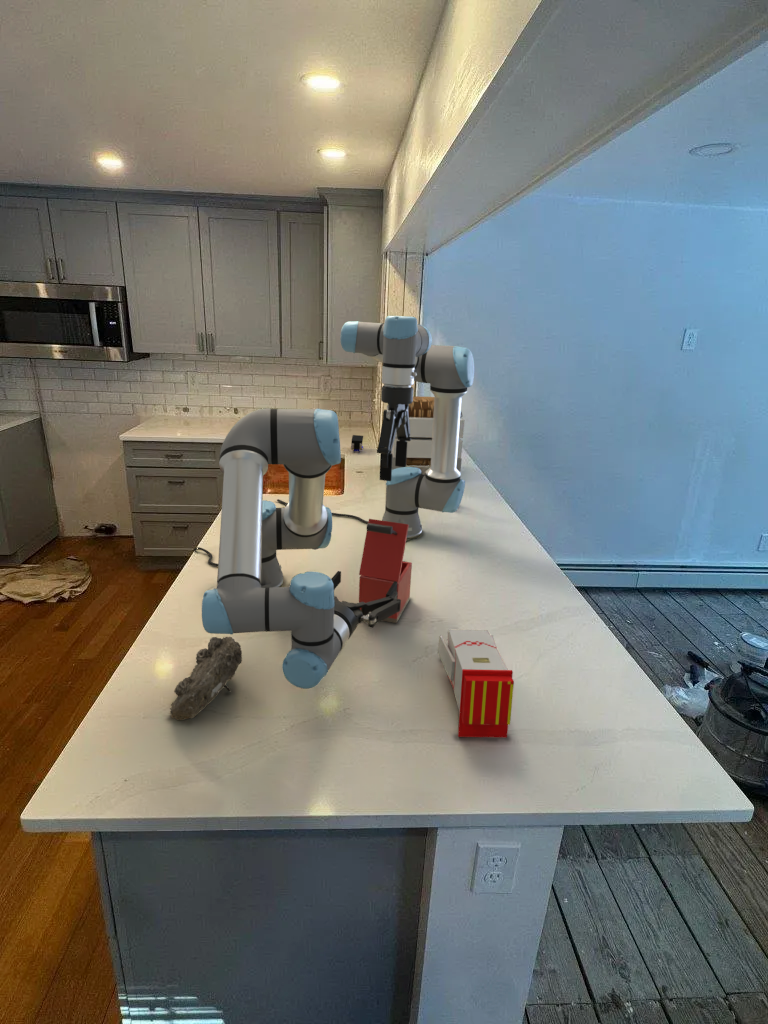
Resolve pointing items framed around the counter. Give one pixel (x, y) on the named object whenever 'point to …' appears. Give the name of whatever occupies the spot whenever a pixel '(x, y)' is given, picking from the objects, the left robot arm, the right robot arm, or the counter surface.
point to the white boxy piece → (423, 434)
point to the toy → (478, 682)
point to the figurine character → (356, 443)
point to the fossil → (207, 677)
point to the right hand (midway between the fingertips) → (393, 473)
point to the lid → (384, 550)
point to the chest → (379, 588)
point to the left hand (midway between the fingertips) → (367, 581)
